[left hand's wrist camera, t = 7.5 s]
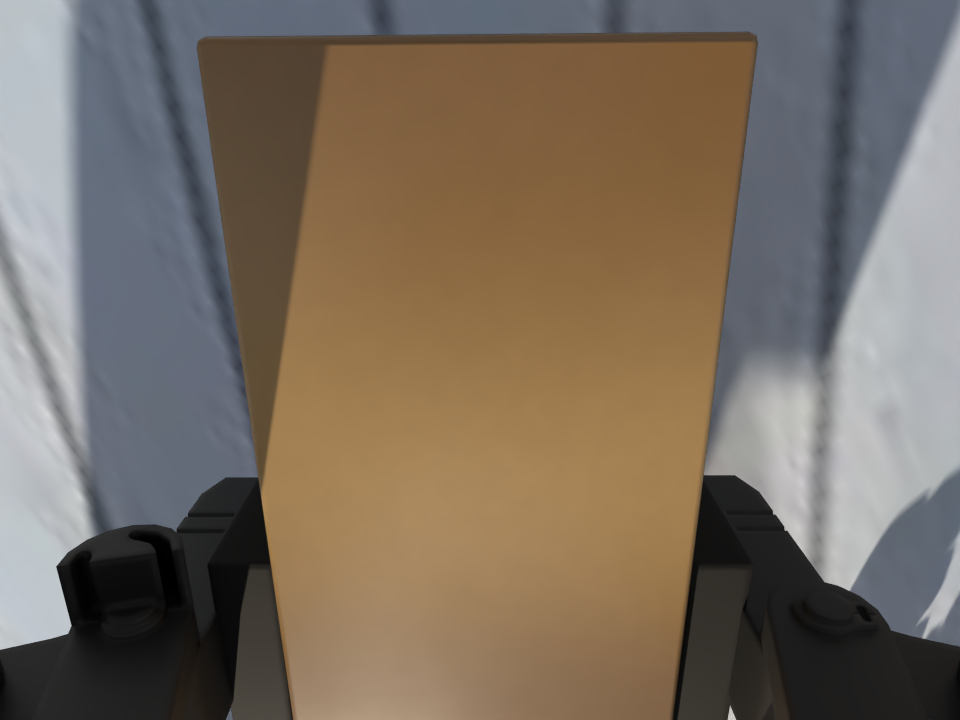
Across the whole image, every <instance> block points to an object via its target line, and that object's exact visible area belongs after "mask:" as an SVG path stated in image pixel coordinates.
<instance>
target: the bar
mask: <svg viewBox="0 0 960 720" xmlns="http://www.w3.org/2000/svg"><path fill="white" fill-rule="evenodd" d="M757 46H758V42H757V36H756V35H754V34H752V33H750V32H671V33H560V34H450V35H339V36H228V37H204V38H202V39H200V40H199V41H198V45H197V53H198V60H199V67H200V74H201V81H202V88H203V95H204V102H205V109H206V116H207V123H208V130H209V136H210V143H211V150H212V157H213V164H214V171H215V178H216V185H217V192H218V199H219V206H220V213H221V220H222V227H223V234H224V241H225V248H226V255H227V262H228V269H229V276H230V283H231V290H232V297H233V304H234V311H235V318H236V325H237V332H238V339H239V346H240V353H241V360H242V367H243V374H244V381H245V387H246V394H247V401H248V408H249V415H250V422H251V429H252V436H253V443H254V450H255V457H256V464H257V471H258V478H259V485H260V492H261V499H262V506H263V513H264V520H265V527H266V534H267V541H268V548H269V555H270V562H271V569H272V576H273V583H274V590H275V597H276V604H277V611H278V618H279V625H280V631H281V638H282V645H283V652H284V659H285V666H286V673H287V680H288V687H289V694H290V701H291V708H292V715H293V720H673V715H674V707H675V699H676V691H677V683H678V675H679V667H680V659H681V651H682V643H683V635H684V627H685V619H686V611H687V603H688V595H689V587H690V579H691V571H692V564H693V556H694V548H695V540H696V532H697V524H698V516H699V508H700V500H701V492H702V484H703V476H704V468H705V460H706V452H707V444H708V436H709V428H710V420H711V412H712V404H713V396H714V388H715V380H716V372H717V364H718V356H719V348H720V340H721V333H722V325H723V317H724V309H725V301H726V293H727V285H728V277H729V269H730V261H731V253H732V245H733V237H734V229H735V221H736V213H737V205H738V197H739V189H740V181H741V173H742V165H743V157H744V149H745V141H746V133H747V125H748V117H749V109H750V102H751V94H752V86H753V78H754V70H755V62H756V54H757Z"/></svg>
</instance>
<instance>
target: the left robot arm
mask: <svg viewBox="0 0 960 720" xmlns="http://www.w3.org/2000/svg"><path fill="white" fill-rule="evenodd" d="M56 567H57V571H58V575H59V579H60V583H61V586H62V590H63V594H64V598H65V602H66V606H67V610H68V613H69V617H70V621H71V625H72V626H71V629H70V631H69V633H68V634H66V635H63V636H59V637H56V638H52V639H48V640H43V641H39V642H34V643H30V644H25V645H21V646H16V647H11V648H7V649H2V650H0V720H226V718H227V715H228V713H229V710H230V708H231V711H232V717H233V720H293V715H292V708H291V701H290V694H289V687H288V680H287V673H286V666H285V659H284V652H283V645H282V638H281V631H280V625H279V618H278V611H277V604H276V597H275V590H274V583H273V576H272V569H271V562H270V555H269V548H268V541H267V534H266V527H265V520H264V513H263V506H262V499H261V492H260V485H259V478H225V479H223V480H222V481H220V482H219V483H217V484H216V485H214V486H213V487H211V488H210V489H209V490H207V491H206V492H204V493H203V494H202V495H201V496H200V497H199V499H198V500H197V502H196V503H195V504H194V506H193V507H192V508H191V510H190V511H189V513H188V517H185V518H184V520H183V521H182V522H181V524H180V525H179V527H178V528H177V532H175V531H174V530H173V529H171V528H167V527H163V526H159V525H132V526H128V527H123V528H119V529H114V530H110V531H107V532H105V533H103V534H100V535H98V536H95V537H93V538H90V539H88V540H86V541H85V542H83V543H82V544H80V545H79V546H77V547H76V548H74V549H73V550H71V551H70V552H68V553H67V554H66V556H65V557H64V558H63V559H62V560H61V562H60V563H59V564H58V565H57V566H56ZM730 706H731V708H732V710H733V713H734V715H735V718H736V720H960V647H958V646H954V645H949V644H944V643H940V642H935V641H931V640H926V639H921V638H917V637H912V636H908V635H905V634H901V633H898V632H894V631H891V630H890V627H889V625H888V624H887V622H886V621H885V620H884V618H883V617H882V615H881V614H880V613H879V611H878V610H877V609H876V608H875V607H873V606H872V605H871V604H869V603H868V602H867V601H865V600H864V599H863V598H862V597H860V596H858V595H856V594H854V593H852V592H850V591H848V590H846V589H844V588H842V587H839V586H837V585H833V584H829V583H825V582H824V581H823V580H822V578H821V577H820V576H819V574H818V573H817V571H816V570H815V569H814V567H813V566H812V564H811V563H810V562H809V560H808V559H807V558H806V556H805V555H804V553H803V552H802V551H801V549H800V548H799V546H798V545H797V544H796V542H795V541H794V540H793V538H792V537H791V535H790V534H789V533H788V531H785V530H784V526H783V524H782V523H781V522H780V520H779V519H778V517H777V516H776V515H773V510H772V509H771V508H770V506H769V505H768V504H767V502H766V501H765V499H764V498H763V497H762V495H761V494H760V492H759V491H757V490H756V489H754V488H753V487H751V486H750V485H748V484H747V483H745V482H744V481H742V480H741V479H739V478H738V477H736V476H735V475H704V476H703V484H702V492H701V500H700V508H699V516H698V524H697V532H696V540H695V548H694V556H693V564H692V571H691V579H690V587H689V595H688V603H687V611H686V619H685V627H684V635H683V643H682V651H681V659H680V667H679V675H678V683H677V691H676V699H675V707H674V715H673V720H728V714H729V708H730Z"/></svg>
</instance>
